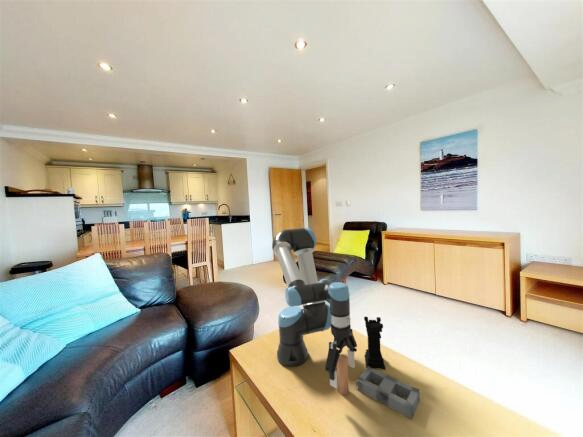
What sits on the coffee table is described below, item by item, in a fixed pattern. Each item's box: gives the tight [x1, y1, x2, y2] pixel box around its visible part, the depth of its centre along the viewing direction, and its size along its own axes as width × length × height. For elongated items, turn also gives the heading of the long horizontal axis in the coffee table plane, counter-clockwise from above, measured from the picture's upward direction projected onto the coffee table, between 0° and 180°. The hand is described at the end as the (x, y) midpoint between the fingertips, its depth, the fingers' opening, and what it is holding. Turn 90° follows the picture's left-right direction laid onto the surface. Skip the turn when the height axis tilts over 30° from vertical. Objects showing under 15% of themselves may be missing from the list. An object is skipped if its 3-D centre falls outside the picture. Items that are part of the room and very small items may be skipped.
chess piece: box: [363, 316, 386, 370], centre depth 107 cm, size 8×8×20 cm
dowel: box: [336, 353, 349, 396], centre depth 92 cm, size 4×4×14 cm
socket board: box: [356, 366, 421, 420], centre depth 90 cm, size 20×10×4 cm, turn 48°
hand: (343, 375), depth 92 cm, fingers open, 13 cm apart
